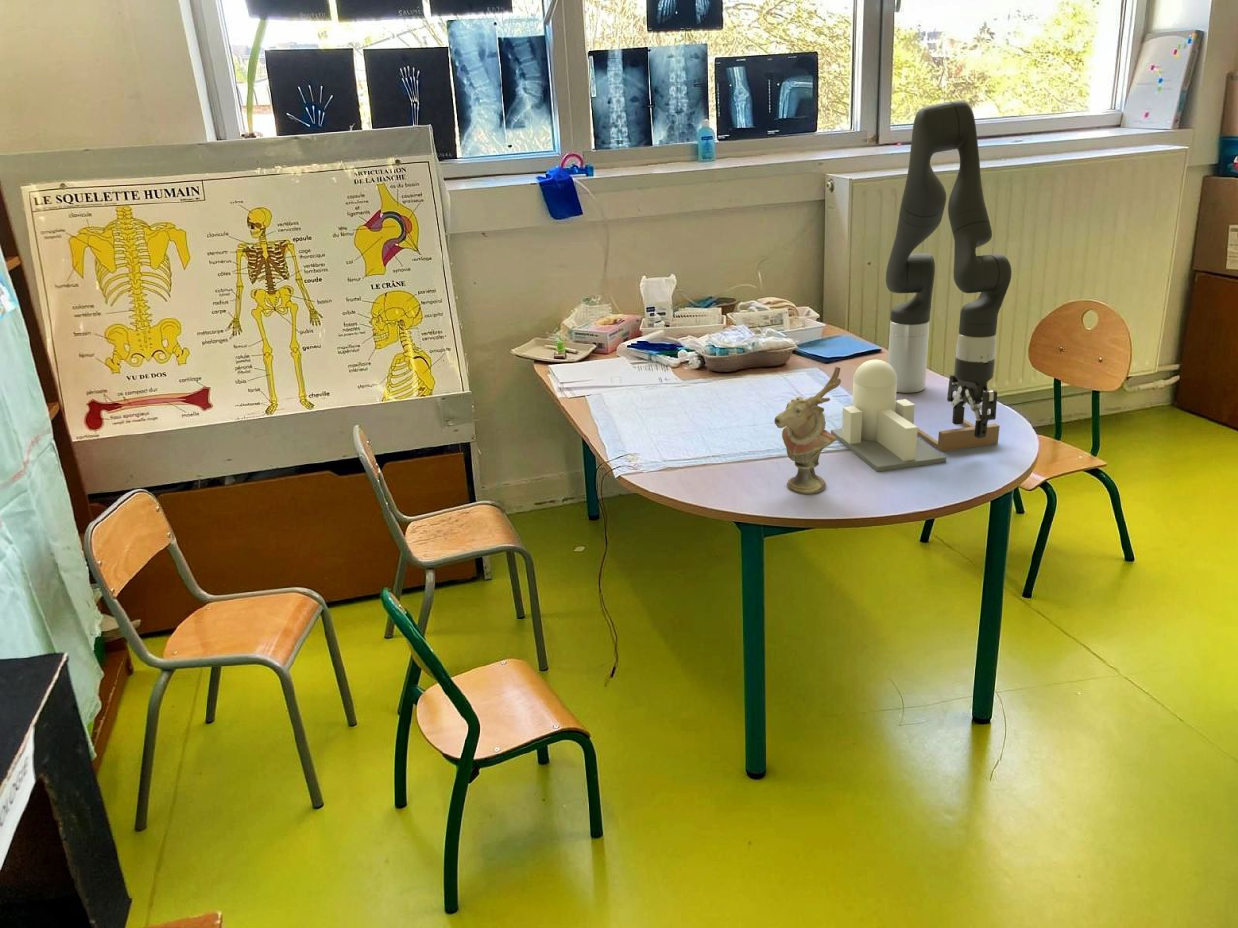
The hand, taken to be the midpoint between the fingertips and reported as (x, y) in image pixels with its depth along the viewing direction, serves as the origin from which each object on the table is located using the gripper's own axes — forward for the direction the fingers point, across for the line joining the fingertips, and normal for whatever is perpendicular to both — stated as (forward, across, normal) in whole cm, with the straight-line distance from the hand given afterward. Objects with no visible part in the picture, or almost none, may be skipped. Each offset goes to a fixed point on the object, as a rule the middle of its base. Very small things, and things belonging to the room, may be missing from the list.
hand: (968, 430), depth 193 cm
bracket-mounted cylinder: (+4, -5, -16) cm, 17 cm away
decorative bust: (+4, +8, -41) cm, 42 cm away
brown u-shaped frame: (+4, -7, 0) cm, 8 cm away
